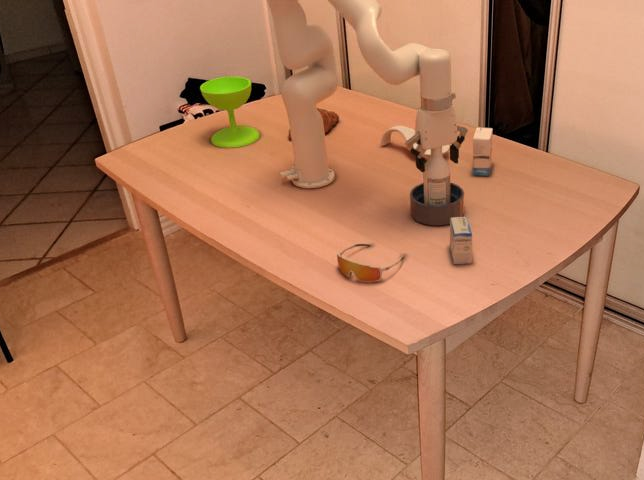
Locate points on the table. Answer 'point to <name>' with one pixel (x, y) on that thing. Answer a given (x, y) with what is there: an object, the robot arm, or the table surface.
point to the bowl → (436, 213)
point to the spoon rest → (407, 135)
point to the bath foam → (436, 179)
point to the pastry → (326, 120)
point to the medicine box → (460, 240)
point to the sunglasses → (361, 267)
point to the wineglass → (230, 109)
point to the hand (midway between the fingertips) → (437, 165)
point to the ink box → (482, 151)
